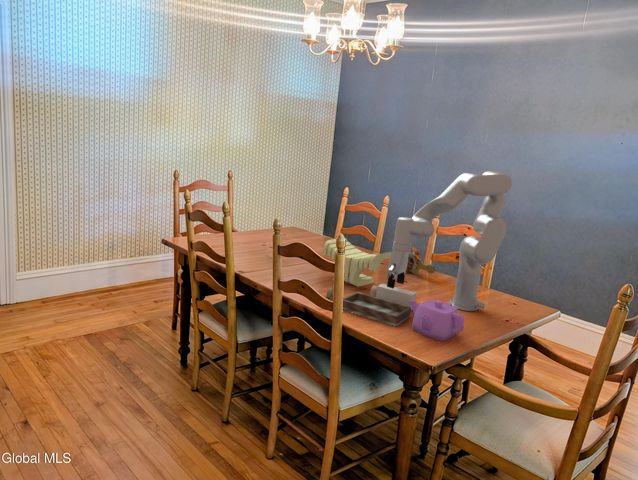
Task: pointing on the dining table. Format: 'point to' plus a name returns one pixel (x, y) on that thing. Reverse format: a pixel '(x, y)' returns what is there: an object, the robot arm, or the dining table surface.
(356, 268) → the slatted curved stool
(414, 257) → the toy helicopter
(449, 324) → the teakettle
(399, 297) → the pale grey block
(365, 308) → the wooden tray
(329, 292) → the chocolate bunny
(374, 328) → the dining table surface
